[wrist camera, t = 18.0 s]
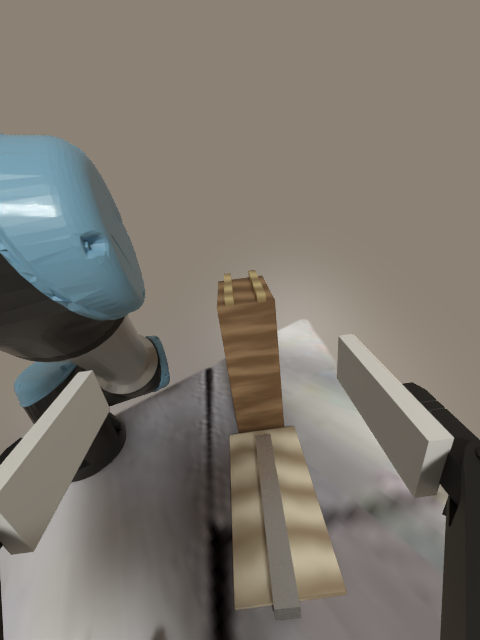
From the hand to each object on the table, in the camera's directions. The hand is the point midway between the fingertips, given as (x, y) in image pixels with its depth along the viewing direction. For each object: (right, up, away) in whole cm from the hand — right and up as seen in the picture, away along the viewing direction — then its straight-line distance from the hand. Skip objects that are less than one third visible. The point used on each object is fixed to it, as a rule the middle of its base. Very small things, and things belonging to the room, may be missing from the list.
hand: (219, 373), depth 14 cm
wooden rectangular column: (+5, -18, +50) cm, 54 cm away
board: (+7, -27, +30) cm, 41 cm away
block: (+6, -27, +28) cm, 39 cm away
